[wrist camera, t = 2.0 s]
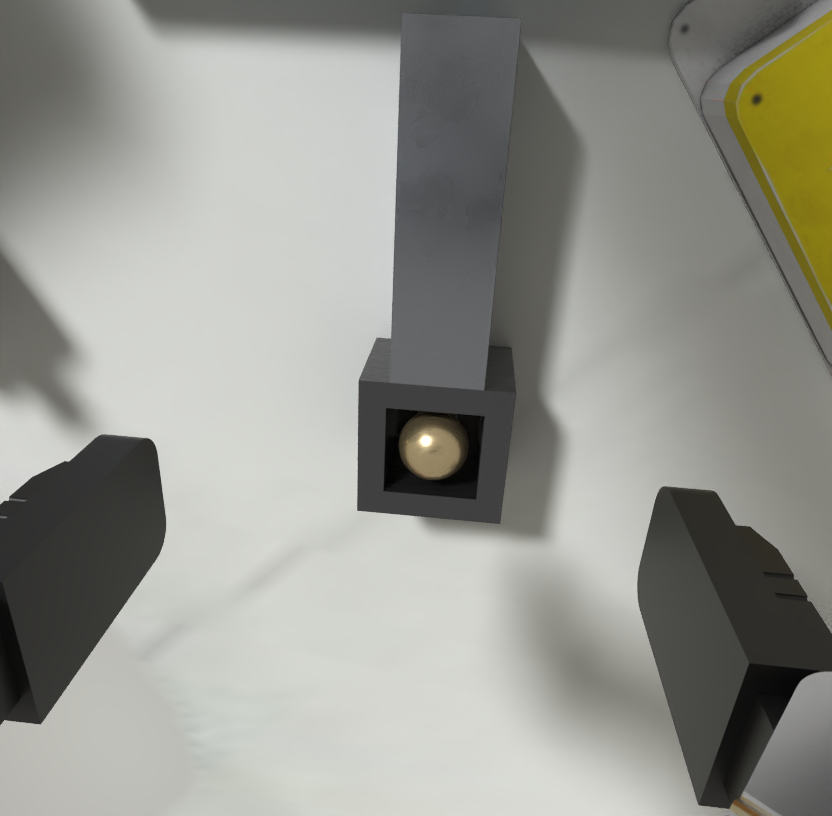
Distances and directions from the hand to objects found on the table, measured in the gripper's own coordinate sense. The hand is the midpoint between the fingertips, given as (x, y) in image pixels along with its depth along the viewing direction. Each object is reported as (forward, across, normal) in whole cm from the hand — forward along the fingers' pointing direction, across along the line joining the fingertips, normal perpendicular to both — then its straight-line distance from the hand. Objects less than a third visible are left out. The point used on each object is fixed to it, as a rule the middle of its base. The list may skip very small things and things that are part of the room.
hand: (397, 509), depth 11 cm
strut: (+15, 0, 0) cm, 15 cm away
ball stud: (+15, 0, +5) cm, 15 cm away
